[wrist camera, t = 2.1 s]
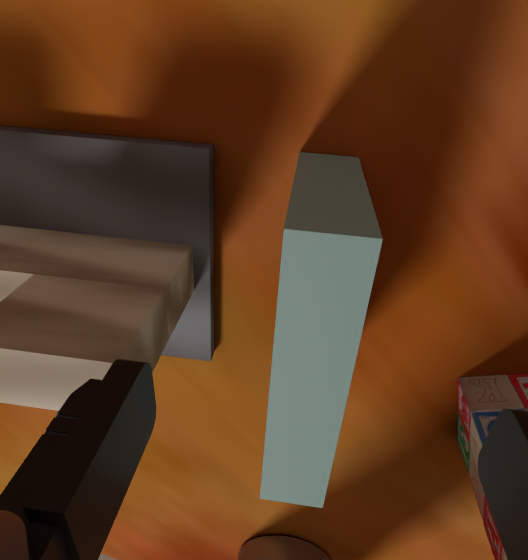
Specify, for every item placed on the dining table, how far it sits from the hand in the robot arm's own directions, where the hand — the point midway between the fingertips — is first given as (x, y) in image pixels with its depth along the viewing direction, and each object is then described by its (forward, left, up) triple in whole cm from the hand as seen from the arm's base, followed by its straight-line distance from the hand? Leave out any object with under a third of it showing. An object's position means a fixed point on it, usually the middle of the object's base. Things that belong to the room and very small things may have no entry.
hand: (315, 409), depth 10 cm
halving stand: (0, +16, -15) cm, 22 cm away
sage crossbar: (-5, +1, -15) cm, 15 cm away
